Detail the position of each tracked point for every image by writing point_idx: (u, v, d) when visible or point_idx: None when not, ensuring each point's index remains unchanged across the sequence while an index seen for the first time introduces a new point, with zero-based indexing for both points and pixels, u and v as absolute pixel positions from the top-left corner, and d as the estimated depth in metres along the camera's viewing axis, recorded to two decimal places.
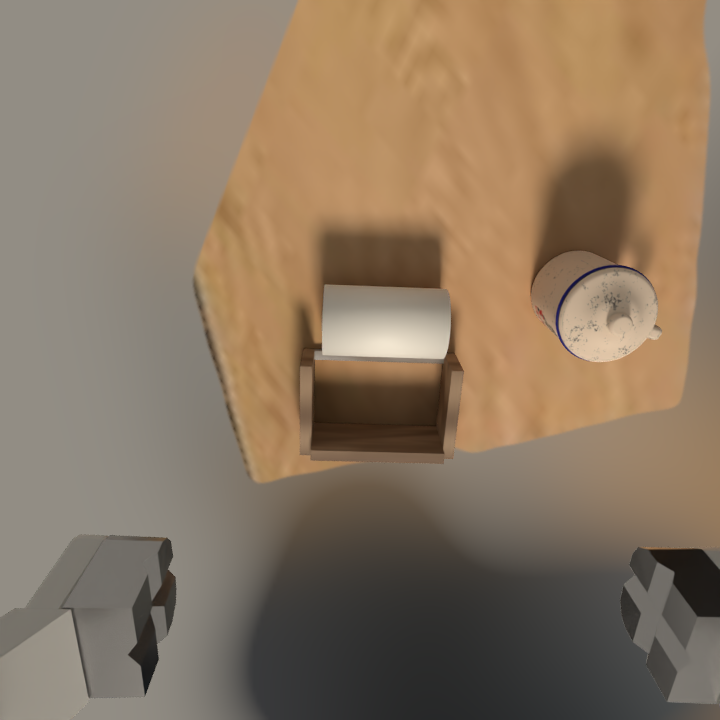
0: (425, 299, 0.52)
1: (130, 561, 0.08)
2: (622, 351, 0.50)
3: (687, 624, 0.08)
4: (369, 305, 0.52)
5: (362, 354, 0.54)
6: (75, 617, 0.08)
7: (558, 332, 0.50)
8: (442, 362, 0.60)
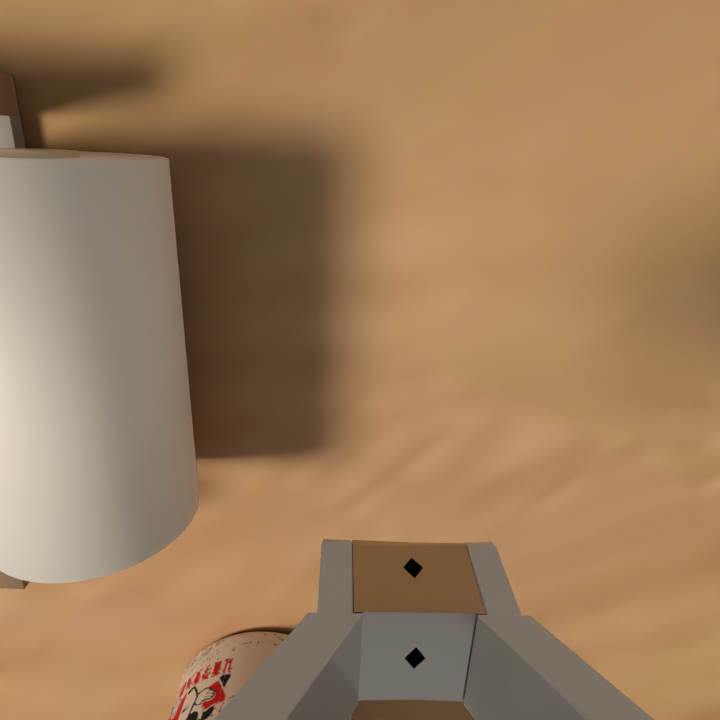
0: (81, 516, 0.16)
1: (390, 566, 0.09)
2: None
3: None
4: (6, 347, 0.14)
5: None
6: (365, 621, 0.08)
7: None
8: None
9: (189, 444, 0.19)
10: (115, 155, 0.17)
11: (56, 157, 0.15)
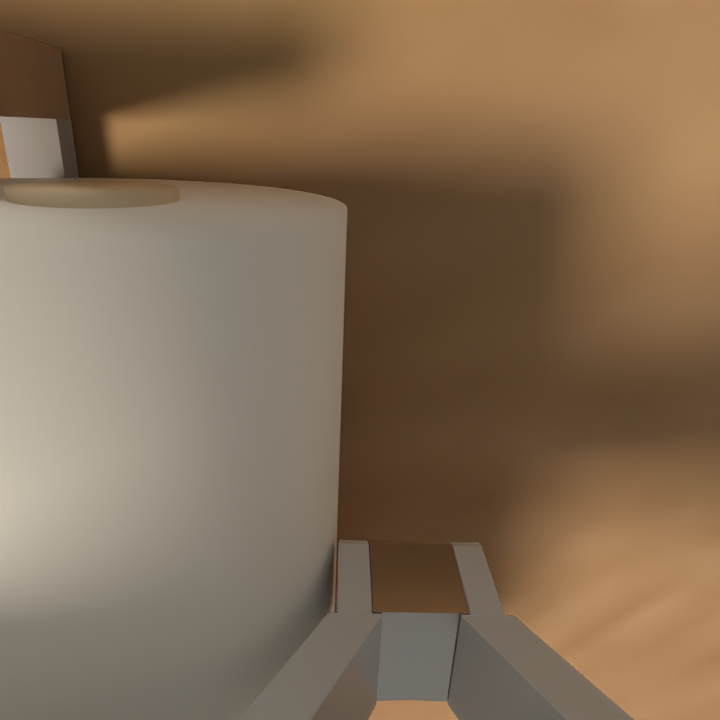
0: None
1: (408, 566, 0.09)
2: None
3: None
4: (43, 635, 0.06)
5: None
6: (384, 621, 0.08)
7: None
8: None
9: None
10: (229, 191, 0.09)
11: (144, 204, 0.07)
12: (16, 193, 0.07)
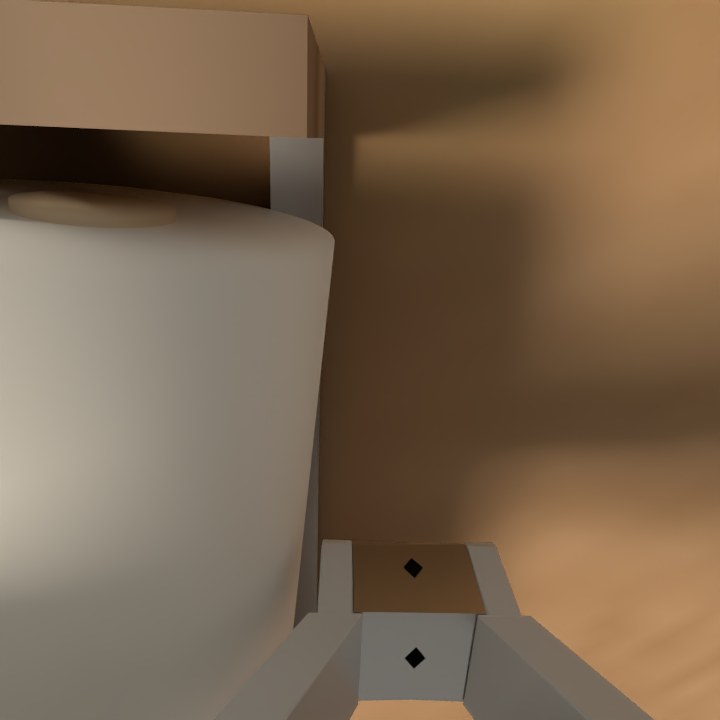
0: None
1: (390, 566, 0.09)
2: None
3: None
4: None
5: None
6: (365, 621, 0.08)
7: None
8: None
9: None
10: (126, 247, 0.06)
11: (10, 209, 0.07)
12: (76, 193, 0.09)
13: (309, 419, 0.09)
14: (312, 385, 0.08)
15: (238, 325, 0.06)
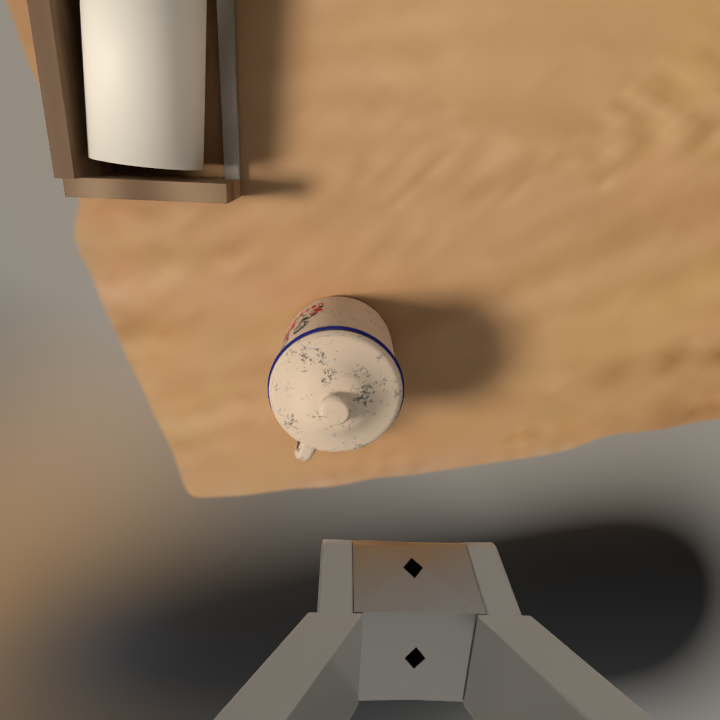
0: None
1: (390, 565, 0.09)
2: (288, 419, 0.36)
3: None
4: None
5: None
6: (365, 621, 0.08)
7: (310, 332, 0.35)
8: (226, 176, 0.39)
9: (92, 108, 0.32)
10: None
11: None
12: None
13: None
14: None
15: None
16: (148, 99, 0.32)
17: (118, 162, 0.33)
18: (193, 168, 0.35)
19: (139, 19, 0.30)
